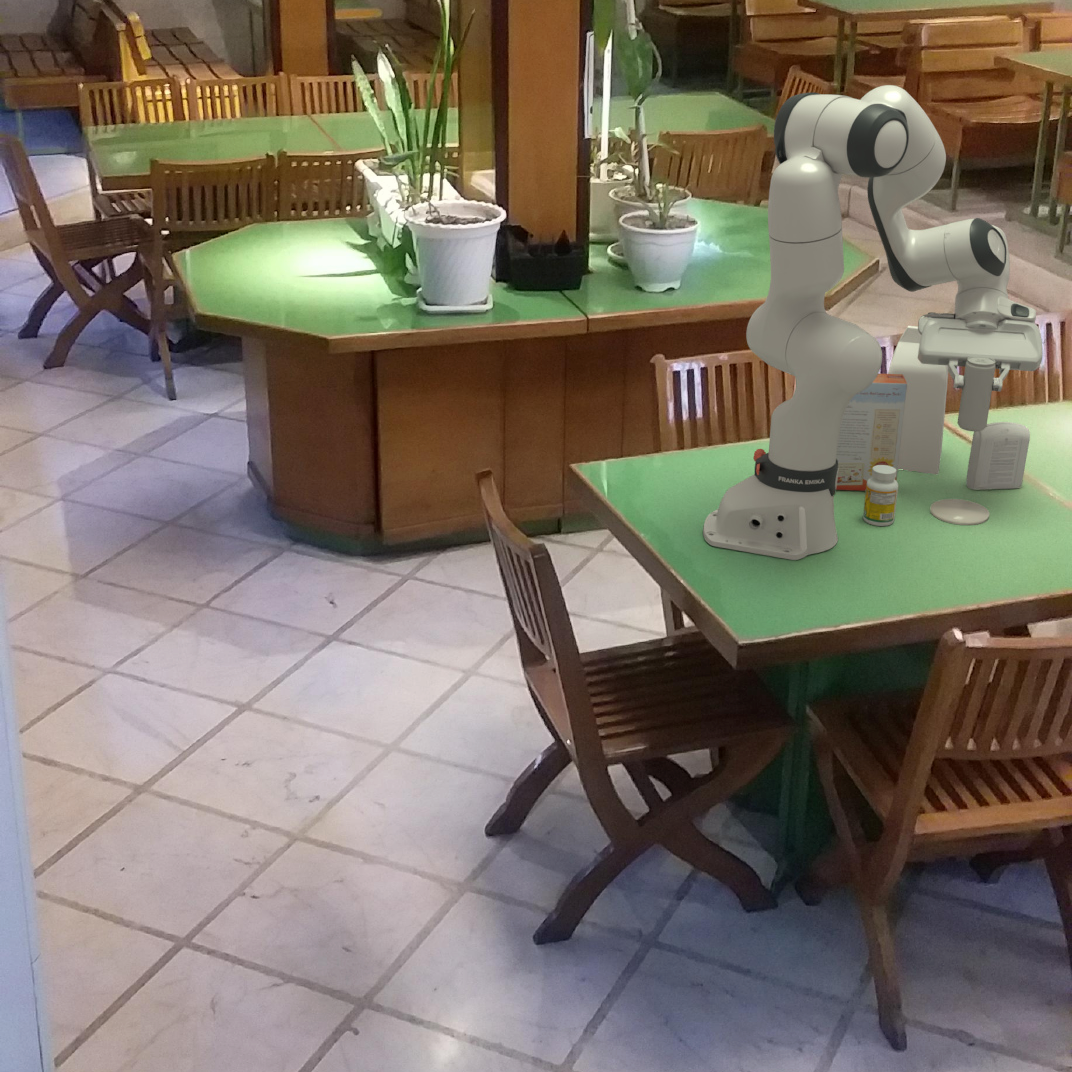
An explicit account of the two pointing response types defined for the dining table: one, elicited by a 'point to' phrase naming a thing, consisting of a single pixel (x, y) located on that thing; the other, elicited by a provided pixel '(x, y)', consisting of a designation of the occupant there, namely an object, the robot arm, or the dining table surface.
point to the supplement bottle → (881, 496)
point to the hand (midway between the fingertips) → (977, 388)
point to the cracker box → (871, 431)
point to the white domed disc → (959, 512)
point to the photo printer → (998, 456)
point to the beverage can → (976, 394)
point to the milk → (920, 406)
